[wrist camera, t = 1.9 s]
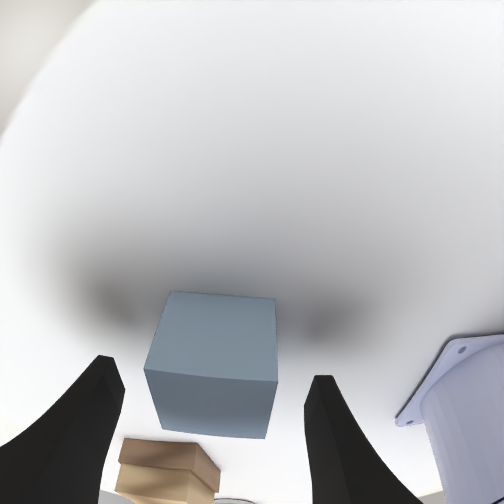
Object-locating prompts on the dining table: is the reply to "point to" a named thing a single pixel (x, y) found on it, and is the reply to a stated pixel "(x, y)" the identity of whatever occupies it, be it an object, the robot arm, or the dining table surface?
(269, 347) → the slate blue cube
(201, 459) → the walnut slab
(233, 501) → the supplement bottle
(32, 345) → the dining table surface
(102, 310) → the dining table surface
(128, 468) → the oak slab
